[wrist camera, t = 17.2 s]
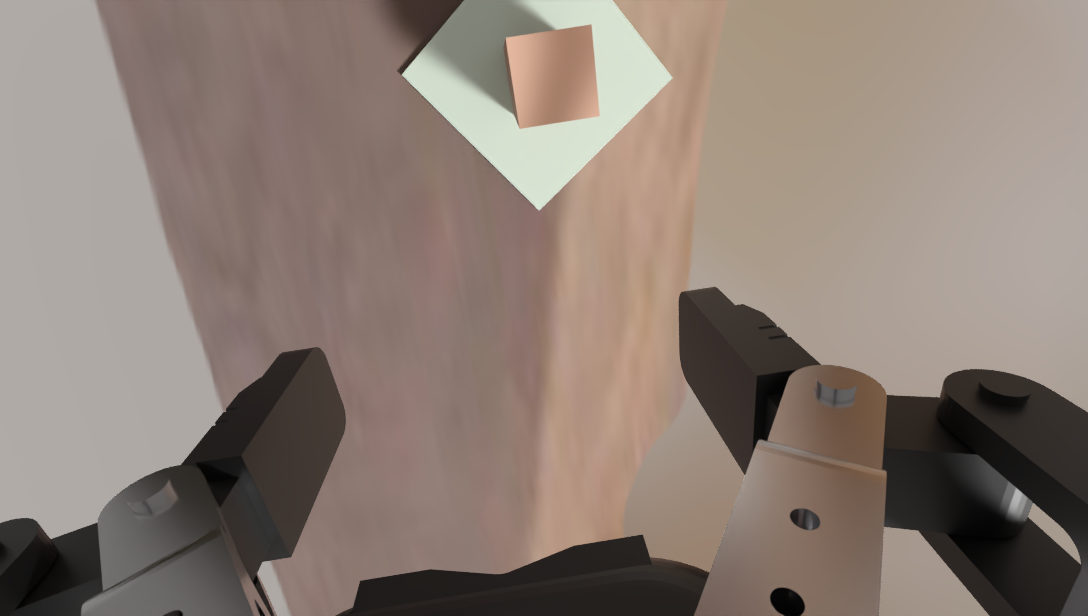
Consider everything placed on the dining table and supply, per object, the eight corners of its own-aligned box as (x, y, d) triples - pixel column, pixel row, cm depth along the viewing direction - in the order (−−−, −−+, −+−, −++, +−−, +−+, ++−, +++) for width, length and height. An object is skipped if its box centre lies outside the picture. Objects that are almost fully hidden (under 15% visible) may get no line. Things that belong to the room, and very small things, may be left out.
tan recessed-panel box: (513, 115, 35) (519, 128, 26) (503, 47, 34) (505, 37, 24) (573, 105, 35) (599, 116, 26) (566, 37, 34) (591, 24, 25)
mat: (402, 74, 34) (401, 74, 34) (540, -90, 31) (541, -92, 31) (538, 209, 39) (539, 210, 38) (670, 77, 36) (672, 77, 35)
